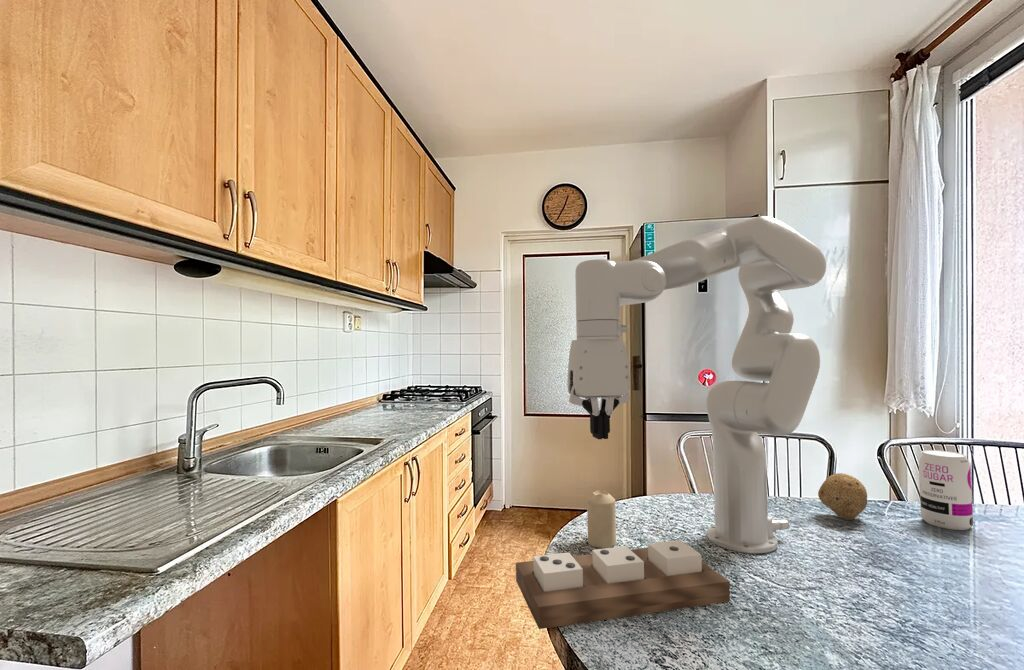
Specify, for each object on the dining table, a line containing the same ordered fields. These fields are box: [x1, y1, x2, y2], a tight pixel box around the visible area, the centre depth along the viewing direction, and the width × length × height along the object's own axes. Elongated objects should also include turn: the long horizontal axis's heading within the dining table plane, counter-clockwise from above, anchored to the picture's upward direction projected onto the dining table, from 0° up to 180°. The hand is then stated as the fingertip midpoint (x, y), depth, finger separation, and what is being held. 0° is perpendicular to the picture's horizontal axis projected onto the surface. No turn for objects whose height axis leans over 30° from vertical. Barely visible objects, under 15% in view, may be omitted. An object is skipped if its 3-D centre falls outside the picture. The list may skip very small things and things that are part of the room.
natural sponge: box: [817, 472, 868, 521], centre depth 105 cm, size 9×9×10 cm
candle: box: [586, 489, 617, 549], centre depth 94 cm, size 6×6×10 cm
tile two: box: [591, 545, 644, 584], centre depth 75 cm, size 6×6×3 cm
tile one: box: [647, 539, 703, 576], centre depth 77 cm, size 6×6×3 cm
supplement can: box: [918, 449, 974, 531], centre depth 101 cm, size 8×8×15 cm
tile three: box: [533, 552, 583, 592], centre depth 73 cm, size 6×6×3 cm
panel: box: [515, 547, 731, 630], centre depth 75 cm, size 30×14×3 cm, turn 102°
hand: (600, 437), depth 82 cm, fingers closed
